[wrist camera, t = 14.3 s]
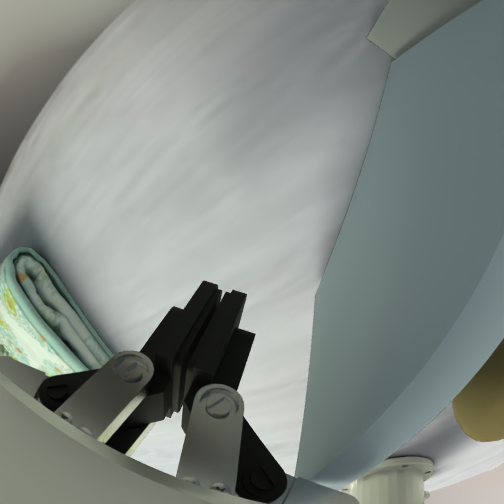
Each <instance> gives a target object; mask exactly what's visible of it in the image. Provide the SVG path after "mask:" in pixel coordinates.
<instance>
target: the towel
mask: <svg viewBox="0 0 504 504" xmlns="http://www.w3.org/2000/svg"><path fill="white" fill-rule="evenodd" d="M0 342H1V343H2V344H3V346H4V347H5V348H6V349H7V350H8V352H9V353H10V354H11V356H12V357H13V359H15V360H17V361H19V362H21V363H24V364H26V365H28V366H31V367H33V368H36V369H38V370H40V371H43V372H46V374H47V376H50V377H51V376H55V375H61V374H68V373H75V372H81V371H87V370H94V369H99V368H101V367H102V366H103V365H104V364H106V363H107V362H108V361H109V360H110V359H111V358H112V357H113V356H115V355H114V354H113V353H112V352H111V351H110V349H109V348H108V347H107V345H106V344H105V343H104V341H103V340H102V339H101V338H100V336H99V335H98V334H97V332H96V331H95V329H94V328H93V327H92V325H91V324H90V322H89V321H88V320H87V318H86V317H85V315H84V314H83V313H82V311H81V310H80V308H79V307H78V305H77V304H76V303H75V301H74V300H73V298H72V297H71V295H70V293H69V292H68V290H67V289H66V287H65V286H64V284H63V283H62V281H61V280H60V278H59V277H58V275H57V274H56V273H55V271H54V270H53V269H52V268H51V266H50V265H49V264H48V263H47V262H46V261H45V259H43V258H42V257H41V256H40V255H38V254H37V253H36V252H35V251H34V250H33V249H31V248H28V247H18V248H15V249H14V250H13V251H12V252H11V253H10V254H9V255H8V256H7V257H6V258H5V260H4V261H3V262H2V264H1V265H0Z"/></svg>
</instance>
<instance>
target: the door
mask: <svg viewBox="0 0 504 504" xmlns="http://www.w3.org/2000/svg"><path fill="white" fill-rule="evenodd" d="M503 338H504V0H482V1H481V2H479V3H478V4H476V5H474V6H473V7H471V8H470V9H468V10H466V11H465V12H463V13H462V14H460V15H459V16H457V17H456V18H454V19H453V20H451V21H450V22H448V23H447V24H445V25H444V26H442V27H441V28H439V29H438V30H436V31H435V32H433V33H432V34H430V35H429V36H428V37H426V38H425V39H423V40H422V41H420V42H419V43H418V44H416V45H415V46H413V47H412V48H411V49H409V50H408V51H406V52H405V53H404V54H402V55H401V56H400V57H398V58H397V59H396V60H394V61H393V62H392V63H391V65H390V70H389V74H388V78H387V82H386V86H385V90H384V94H383V98H382V101H381V105H380V109H379V112H378V116H377V120H376V123H375V127H374V130H373V134H372V137H371V140H370V144H369V147H368V150H367V154H366V157H365V160H364V163H363V166H362V170H361V173H360V176H359V179H358V182H357V185H356V188H355V191H354V194H353V197H352V200H351V203H350V205H349V208H348V211H347V214H346V217H345V220H344V222H343V225H342V228H341V231H340V233H339V236H338V239H337V241H336V244H335V247H334V249H333V252H332V255H331V257H330V260H329V262H328V265H327V267H326V270H325V272H324V275H323V277H322V280H321V282H320V285H319V287H318V290H317V292H316V295H315V303H314V318H313V331H312V343H311V354H310V365H309V374H308V384H307V392H306V401H305V409H304V417H303V424H302V431H301V438H300V445H299V452H298V458H297V464H296V470H295V476H294V477H295V478H296V477H297V476H299V477H301V478H304V479H307V480H309V481H312V482H315V483H317V484H320V485H323V486H326V487H329V488H332V489H335V490H338V491H339V490H341V489H342V488H344V487H346V486H347V485H349V484H350V483H352V482H354V481H355V480H357V479H358V478H360V477H361V476H363V475H364V474H366V473H367V472H368V471H370V470H371V469H373V468H374V467H376V466H377V465H378V464H380V463H381V462H382V461H384V460H385V459H386V458H388V457H389V456H390V455H392V454H393V453H394V452H396V451H397V450H398V449H399V448H401V447H402V446H403V445H404V444H405V443H407V442H408V441H409V440H410V439H411V438H413V437H414V436H415V435H416V434H417V433H418V432H420V431H421V430H422V429H423V428H424V427H425V426H426V425H427V424H428V423H429V422H431V421H432V420H433V419H434V418H435V417H436V416H437V415H438V414H439V413H440V412H441V411H442V410H443V409H444V408H445V407H446V406H447V405H448V404H449V403H450V402H451V401H452V400H453V399H454V398H455V397H456V396H457V395H458V394H459V392H460V391H461V390H462V389H463V388H464V387H465V386H466V385H467V384H468V382H469V381H470V380H471V379H472V378H473V377H474V376H475V374H476V373H477V372H478V371H479V370H480V368H481V367H482V366H483V365H484V363H485V362H486V361H487V360H488V358H489V357H490V356H491V354H492V353H493V352H494V351H495V349H496V348H497V347H498V345H499V344H500V342H501V341H502V340H503Z"/></svg>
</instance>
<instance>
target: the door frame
mask: <svg viewBox="0 0 504 504" xmlns="http://www.w3.org/2000/svg"><path fill="white" fill-rule="evenodd" d="M481 1H482V0H389V2H388V3H387V5H386V6H385V8H384V10H383V11H382V13H381V15H380V16H379V18H378V20H377V21H376V23H375V25H374V26H373V28H372V30H371V31H370V33H369V35H368V36H367V39H368V40H370V41H371V42H373V43H374V44H375V45H377V46H378V47H380V48H381V49H382V50H384V51H385V52H386V53H388V54H389V55H390V56H391V57H393V58H394V59H395V60H396V59H397V58H398V57H400V56H401V55H402V54H404V53H405V52H406V51H408V50H409V49H411V48H412V47H413V46H415V45H416V44H418V43H419V42H420V41H422V40H423V39H425V38H426V37H428V36H429V35H430V34H432V33H433V32H435V31H436V30H438V29H439V28H441V27H442V26H444V25H445V24H447V23H448V22H450V21H451V20H453V19H454V18H456V17H457V16H459V15H460V14H462V13H463V12H465V11H466V10H468V9H470V8H471V7H473V6H474V5H476V4H478V3H479V2H481Z"/></svg>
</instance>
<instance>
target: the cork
mask: <svg viewBox="0 0 504 504" xmlns="http://www.w3.org/2000/svg"><path fill="white" fill-rule="evenodd" d="M453 410H454V414H455V418H456V420H457V421H458V423H459V425H460V426H461V428H462V429H463V431H464V432H465V434H466V435H468V436H469V437H471V438H472V439H474V440H476V441H480V442H491V441H498V440H501V439H504V338H503V340H502V341H501V342H500V344H499V345H498V347H497V348H496V349H495V351H494V352H493V353H492V354H491V356H490V357H489V358H488V360H487V361H486V362H485V363H484V365H483V366H482V367H481V368H480V370H479V371H478V372H477V373H476V374H475V376H474V377H473V378H472V379H471V380H470V381H469V382H468V384H467V385H466V386H465V387H464V388H463V389H462V390H461V391H460V392H459V394H458V395H457V396H456V397H455V398H454V399H453Z"/></svg>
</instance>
